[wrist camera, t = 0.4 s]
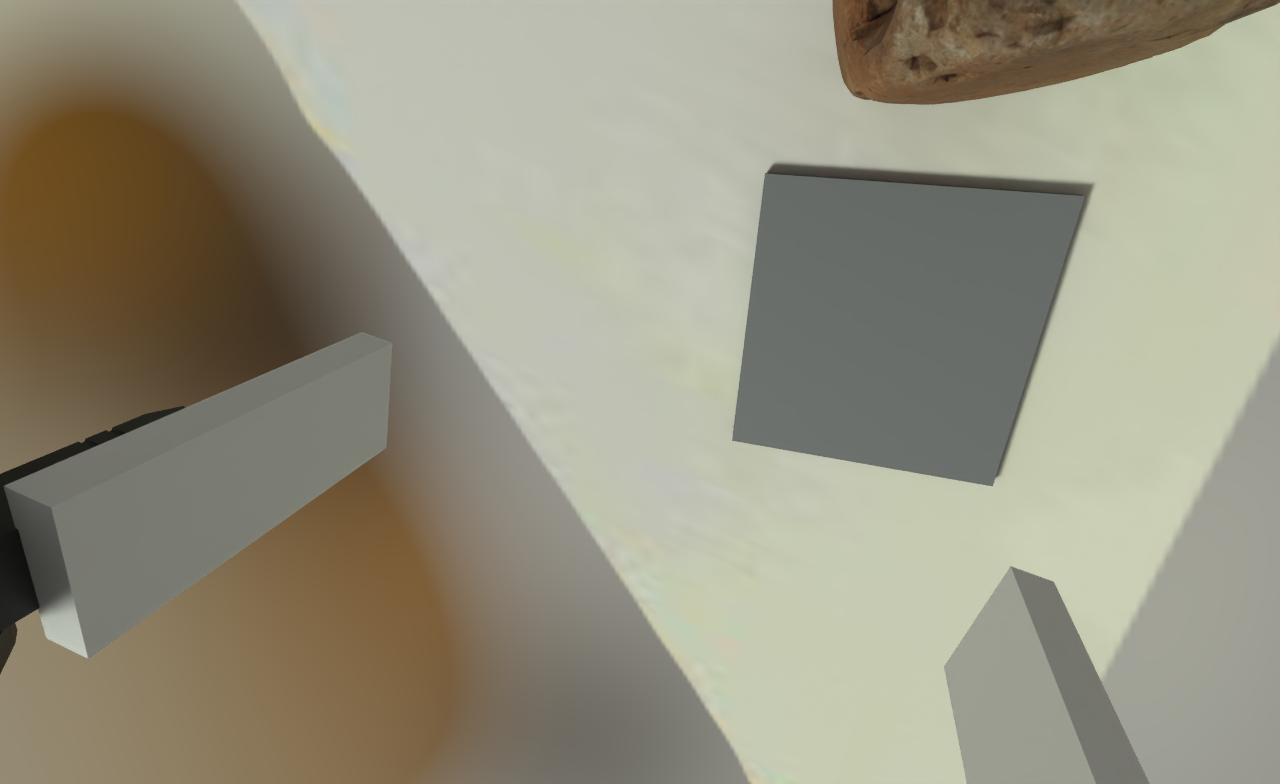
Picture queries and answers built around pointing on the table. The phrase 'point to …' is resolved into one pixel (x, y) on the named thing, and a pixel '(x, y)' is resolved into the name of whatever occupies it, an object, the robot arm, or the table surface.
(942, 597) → the table surface
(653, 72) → the table surface
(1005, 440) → the mat
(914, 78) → the brown sandstone rock
